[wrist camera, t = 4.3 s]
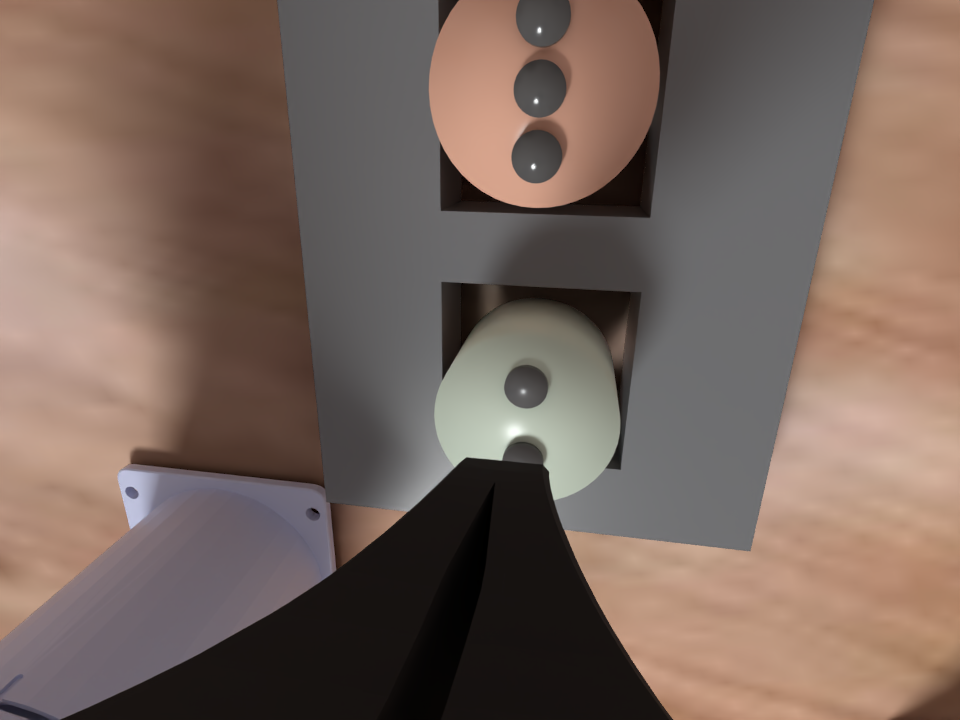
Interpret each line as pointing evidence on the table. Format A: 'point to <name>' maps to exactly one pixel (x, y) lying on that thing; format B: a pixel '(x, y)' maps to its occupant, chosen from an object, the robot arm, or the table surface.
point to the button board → (573, 251)
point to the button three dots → (543, 94)
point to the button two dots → (533, 394)
